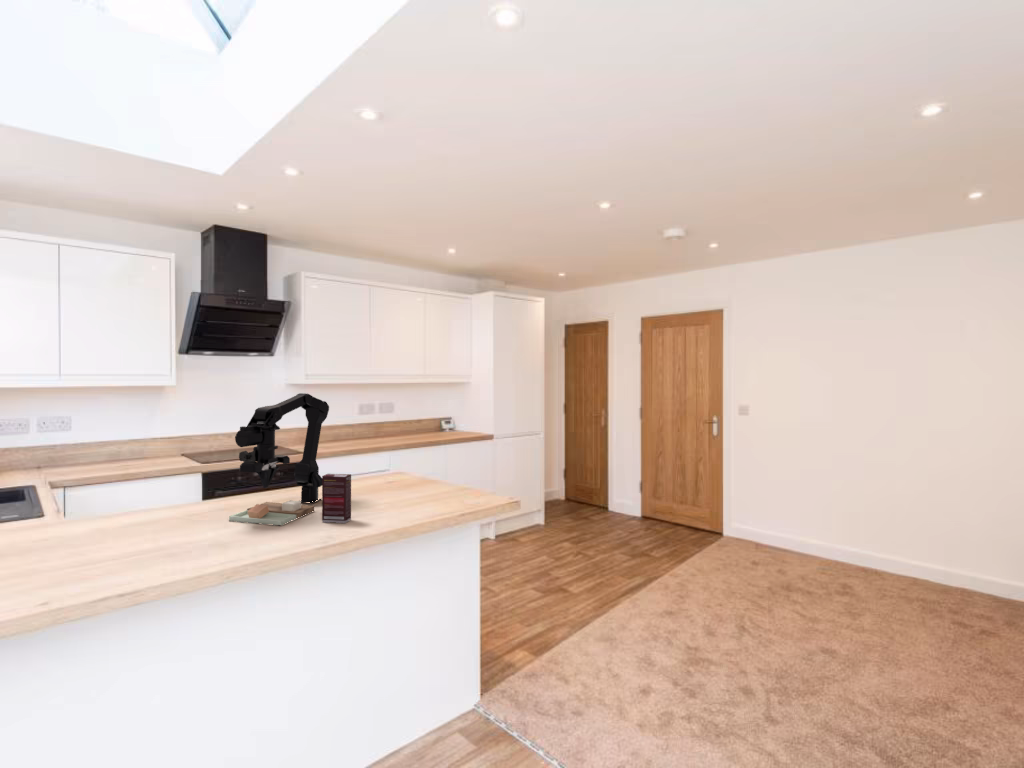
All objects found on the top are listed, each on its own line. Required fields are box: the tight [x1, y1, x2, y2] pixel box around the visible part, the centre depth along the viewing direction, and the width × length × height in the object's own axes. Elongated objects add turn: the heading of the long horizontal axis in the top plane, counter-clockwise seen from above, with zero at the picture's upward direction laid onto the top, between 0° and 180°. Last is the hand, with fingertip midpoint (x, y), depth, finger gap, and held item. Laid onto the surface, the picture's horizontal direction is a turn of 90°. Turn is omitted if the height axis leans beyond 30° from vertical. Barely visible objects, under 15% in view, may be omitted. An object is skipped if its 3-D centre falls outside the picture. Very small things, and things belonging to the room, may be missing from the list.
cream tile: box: [281, 499, 302, 511], centre depth 183 cm, size 4×4×2 cm
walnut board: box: [246, 501, 315, 519], centre depth 185 cm, size 10×20×2 cm, turn 77°
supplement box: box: [321, 473, 352, 524], centre depth 176 cm, size 9×5×16 cm, turn 84°
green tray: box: [228, 509, 297, 526], centre depth 176 cm, size 8×20×2 cm, turn 77°
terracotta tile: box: [247, 503, 269, 519], centre depth 178 cm, size 4×4×2 cm
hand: (265, 487), depth 181 cm, fingers closed
